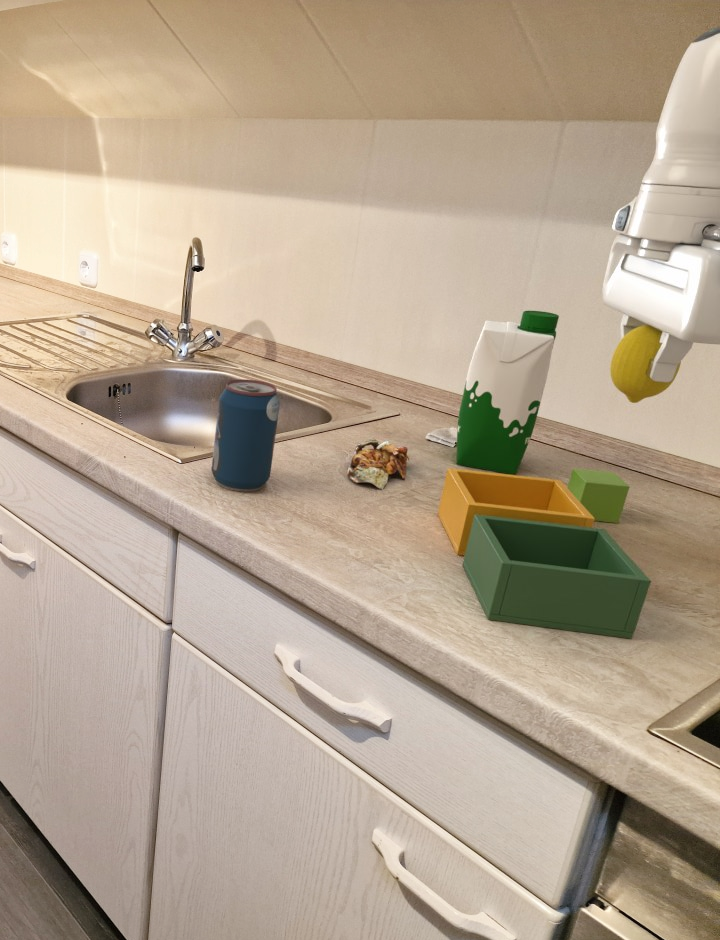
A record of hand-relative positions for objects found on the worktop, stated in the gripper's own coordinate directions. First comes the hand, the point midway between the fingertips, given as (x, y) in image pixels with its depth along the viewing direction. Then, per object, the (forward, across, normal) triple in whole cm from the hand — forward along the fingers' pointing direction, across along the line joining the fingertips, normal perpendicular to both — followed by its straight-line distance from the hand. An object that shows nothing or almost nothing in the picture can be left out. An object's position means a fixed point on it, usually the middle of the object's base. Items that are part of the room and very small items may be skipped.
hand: (642, 371), depth 82 cm
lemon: (+3, 0, 0) cm, 3 cm away
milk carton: (+19, +26, +4) cm, 33 cm away
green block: (+19, +11, -4) cm, 22 cm away
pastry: (+20, +17, +19) cm, 32 cm away
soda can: (+20, +8, +36) cm, 42 cm away
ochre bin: (+19, 0, +8) cm, 21 cm away
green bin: (+19, -13, +8) cm, 25 cm away
